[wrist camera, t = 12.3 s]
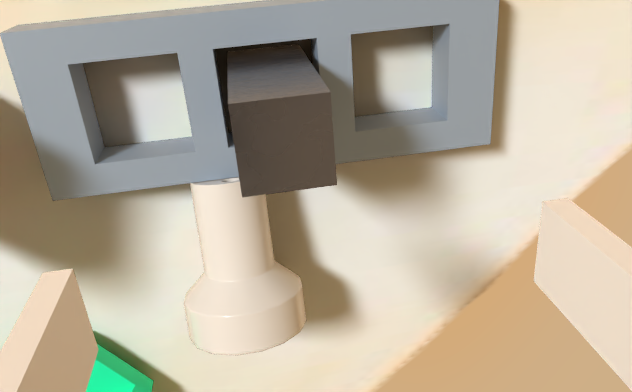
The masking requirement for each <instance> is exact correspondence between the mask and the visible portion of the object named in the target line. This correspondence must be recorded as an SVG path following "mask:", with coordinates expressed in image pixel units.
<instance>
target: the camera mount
mask: <svg viewBox="0 0 632 392" xmlns="http://www.w3.org/2000/svg"><path fill="white" fill-rule="evenodd" d="M97 346H98V349H99V350H98V353H97V357H96V360H95V363H94V366H93V370H92V373H91V376H90V380H89V383H88V386H87V389H86V392H152V386H153V380H151V379H150V378H148V377H147V376H145V375H144V374H142V373H141V372H139V371H138V370H136V369H135V368H133V367H132V366H130V365H129V364H127V363H126V362H124V361H123V360H121V359H120V358H118V357H117V356H115V355H114V354H112V353H111V352H109V351H108V350H106V349H105V348H103V347H102V346H100V345H99V344H97Z"/></svg>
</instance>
